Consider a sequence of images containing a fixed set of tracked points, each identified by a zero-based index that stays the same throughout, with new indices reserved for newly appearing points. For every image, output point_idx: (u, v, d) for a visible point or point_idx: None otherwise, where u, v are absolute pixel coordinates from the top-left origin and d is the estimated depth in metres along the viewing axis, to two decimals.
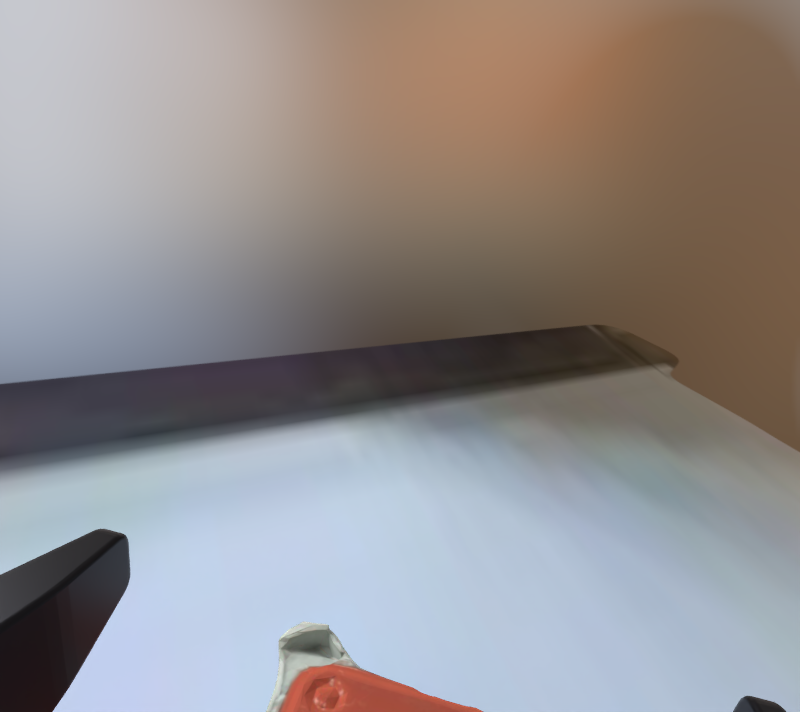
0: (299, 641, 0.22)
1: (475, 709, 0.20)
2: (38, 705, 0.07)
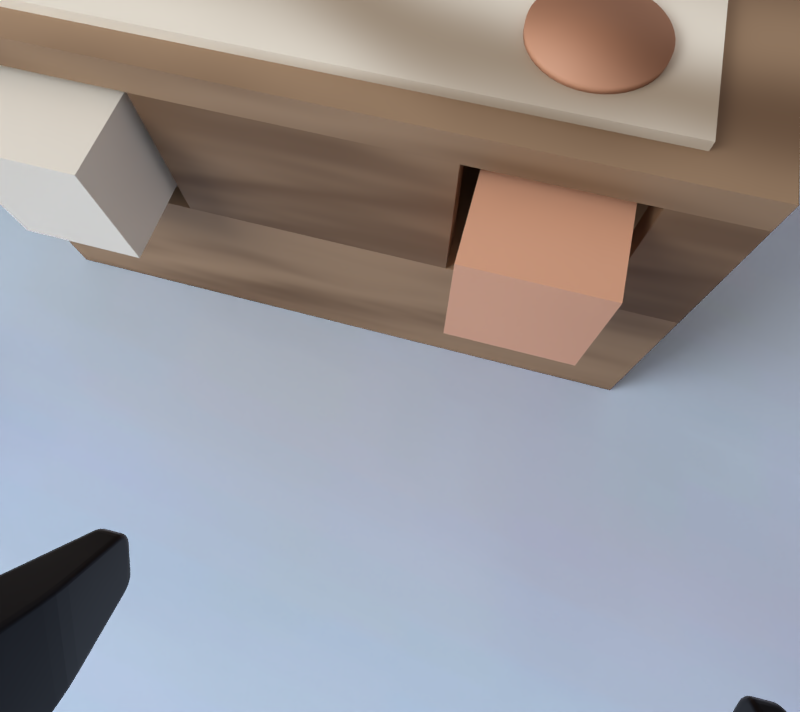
0: None
1: None
2: (38, 705, 0.07)
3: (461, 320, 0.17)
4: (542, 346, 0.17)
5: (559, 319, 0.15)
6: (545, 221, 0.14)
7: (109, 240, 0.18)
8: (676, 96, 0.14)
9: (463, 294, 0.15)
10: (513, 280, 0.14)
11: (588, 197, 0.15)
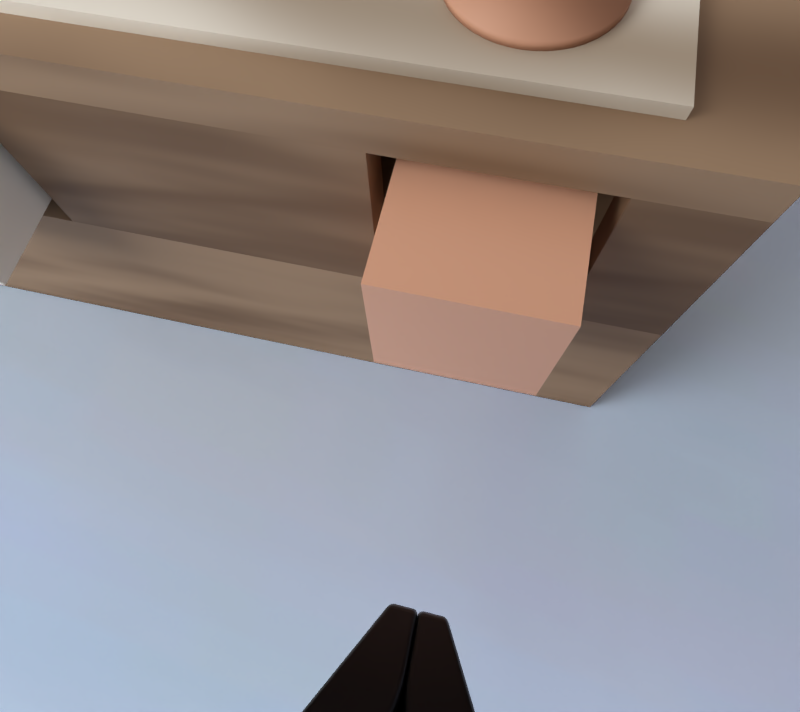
0: None
1: None
2: None
3: (390, 348, 0.13)
4: (492, 375, 0.13)
5: (505, 345, 0.12)
6: (479, 222, 0.11)
7: None
8: (640, 49, 0.10)
9: (383, 319, 0.12)
10: (439, 301, 0.11)
11: (535, 188, 0.11)
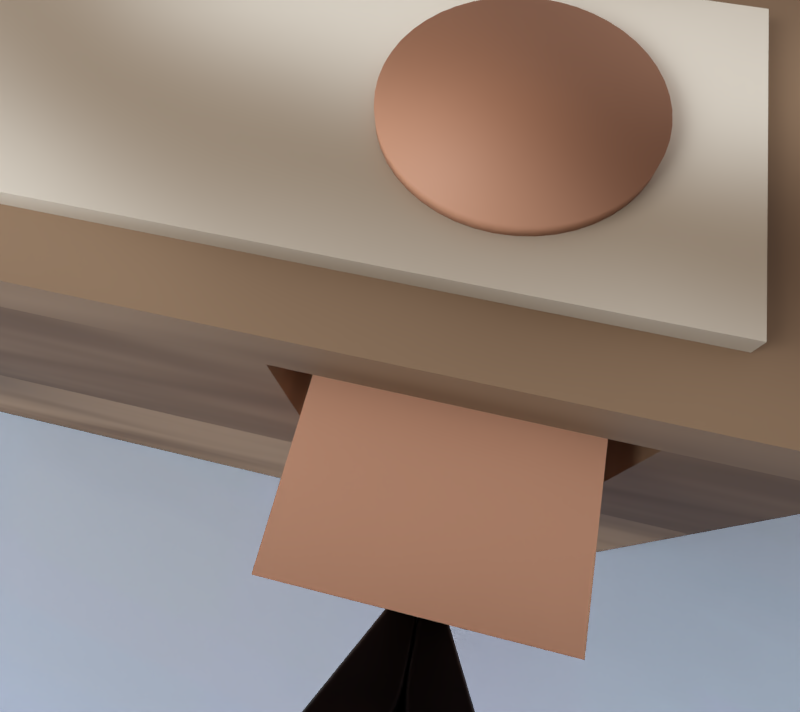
0: None
1: None
2: None
3: None
4: None
5: None
6: (434, 466, 0.07)
7: None
8: (679, 235, 0.07)
9: None
10: (369, 604, 0.07)
11: None
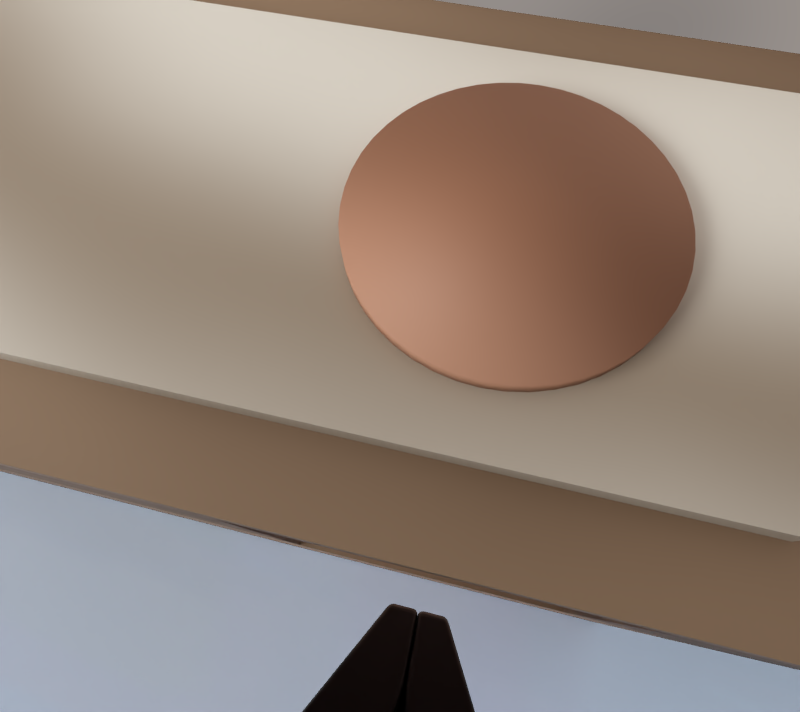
0: None
1: None
2: None
3: None
4: None
5: None
6: None
7: None
8: (703, 392, 0.05)
9: None
10: None
11: None
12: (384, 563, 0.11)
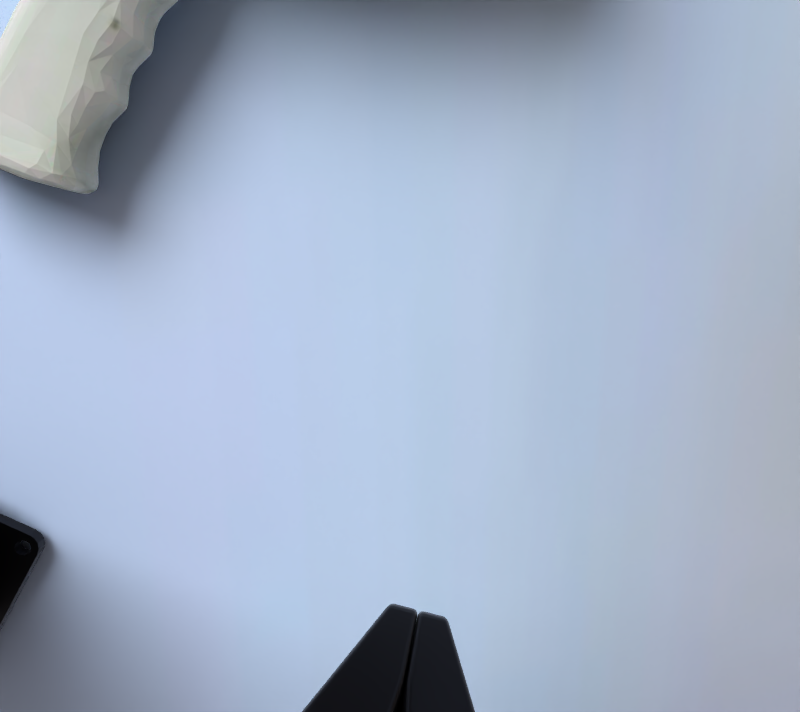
0: None
1: None
2: None
3: None
4: None
5: None
6: None
7: None
8: None
9: None
10: None
11: None
12: None
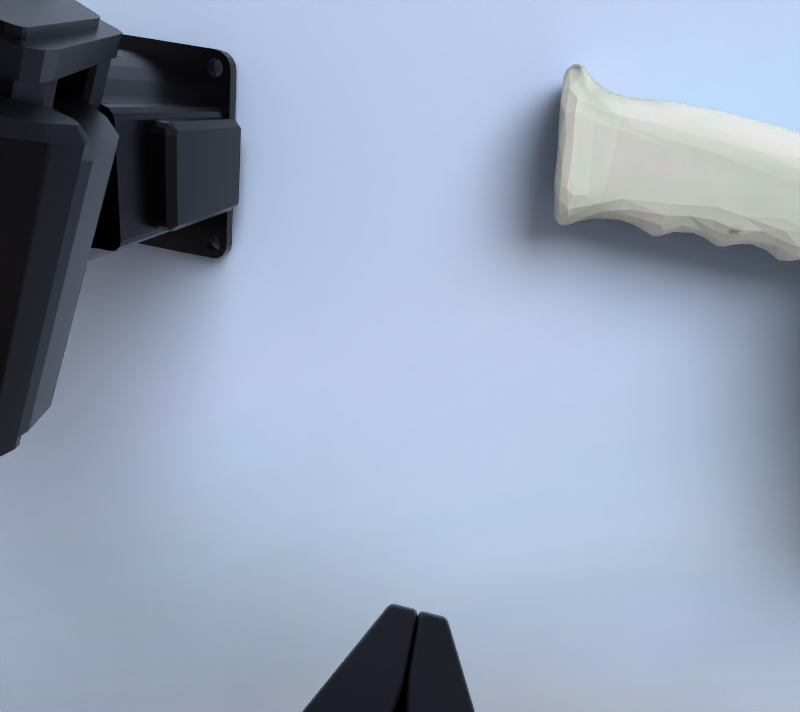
0: None
1: None
2: None
3: None
4: None
5: None
6: None
7: None
8: None
9: None
10: None
11: None
12: None
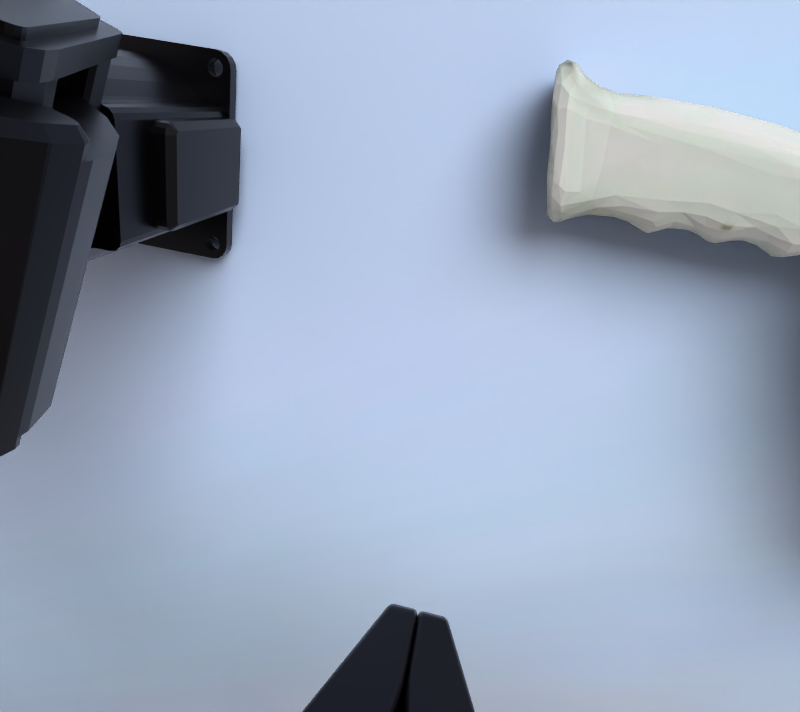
0: None
1: None
2: None
3: None
4: None
5: None
6: None
7: None
8: None
9: None
10: None
11: None
12: None
